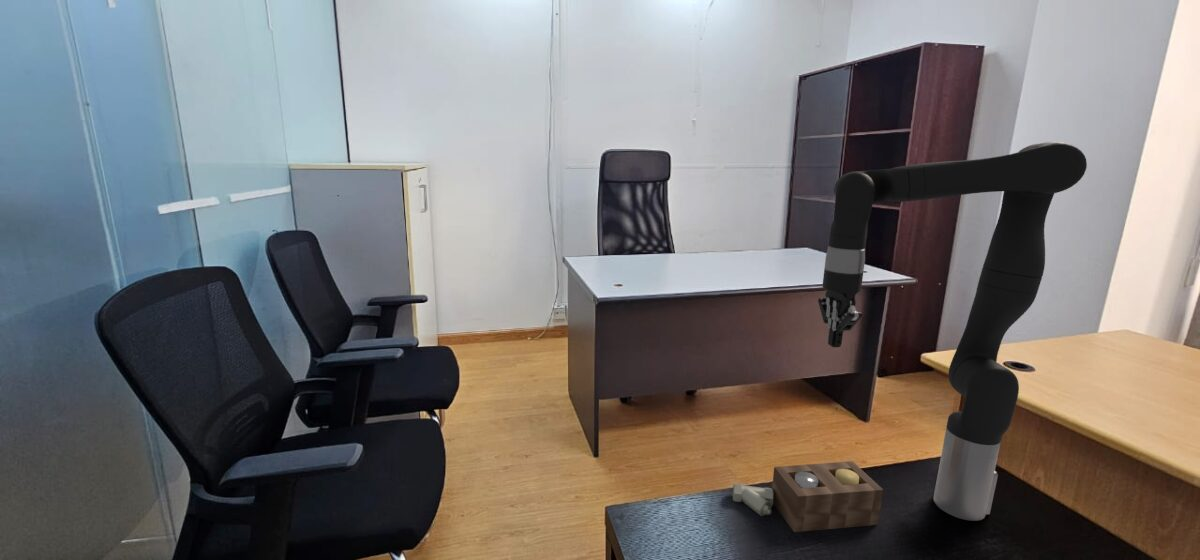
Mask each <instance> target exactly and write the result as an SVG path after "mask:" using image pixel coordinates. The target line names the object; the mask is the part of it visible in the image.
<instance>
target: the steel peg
mask: <svg viewBox="0 0 1200 560" xmlns="http://www.w3.org/2000/svg"><path fill="white" fill-rule="evenodd" d="M795 482H796V483H797V484H798V486H799V487H800V488H813V487H818V478H817V477H816V476H815V475H813V474H811V473H808V472H798V473H796V474H795Z"/></svg>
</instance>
